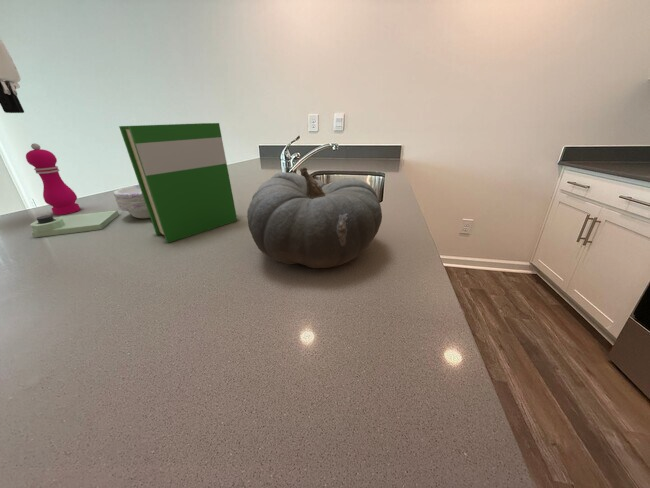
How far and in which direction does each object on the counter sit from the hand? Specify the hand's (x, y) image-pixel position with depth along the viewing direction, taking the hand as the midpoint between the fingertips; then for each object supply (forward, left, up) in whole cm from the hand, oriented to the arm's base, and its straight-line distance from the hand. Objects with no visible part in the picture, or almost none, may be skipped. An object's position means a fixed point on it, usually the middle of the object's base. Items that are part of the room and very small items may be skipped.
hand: (14, 112), depth 67 cm
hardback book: (+41, -28, -28) cm, 57 cm away
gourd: (+66, -51, -28) cm, 88 cm away
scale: (+10, -14, -28) cm, 32 cm away
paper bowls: (+27, -11, -28) cm, 40 cm away
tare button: (+5, -17, -25) cm, 31 cm away
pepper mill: (0, +2, -28) cm, 28 cm away
